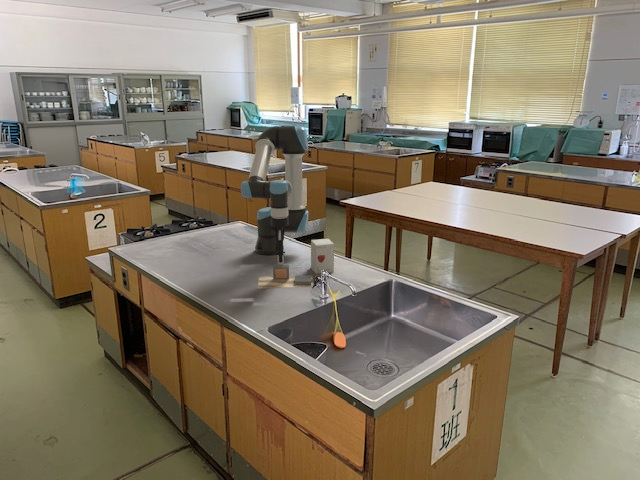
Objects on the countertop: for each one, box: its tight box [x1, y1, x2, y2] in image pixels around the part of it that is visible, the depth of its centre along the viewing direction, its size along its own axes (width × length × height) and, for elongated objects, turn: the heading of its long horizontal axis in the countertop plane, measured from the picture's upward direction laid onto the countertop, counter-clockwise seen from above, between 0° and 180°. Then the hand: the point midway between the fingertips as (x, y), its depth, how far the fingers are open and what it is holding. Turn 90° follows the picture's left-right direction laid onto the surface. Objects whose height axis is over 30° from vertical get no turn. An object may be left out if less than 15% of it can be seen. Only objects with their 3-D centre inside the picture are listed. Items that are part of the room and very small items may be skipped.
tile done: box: [294, 274, 312, 285], centre depth 214 cm, size 7×7×2 cm
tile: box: [272, 264, 290, 280], centre depth 216 cm, size 2×7×7 cm, turn 94°
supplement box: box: [310, 238, 335, 274], centre depth 228 cm, size 9×9×15 cm
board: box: [257, 274, 314, 289], centre depth 215 cm, size 14×24×1 cm, turn 93°
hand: (280, 268), depth 217 cm, fingers closed
